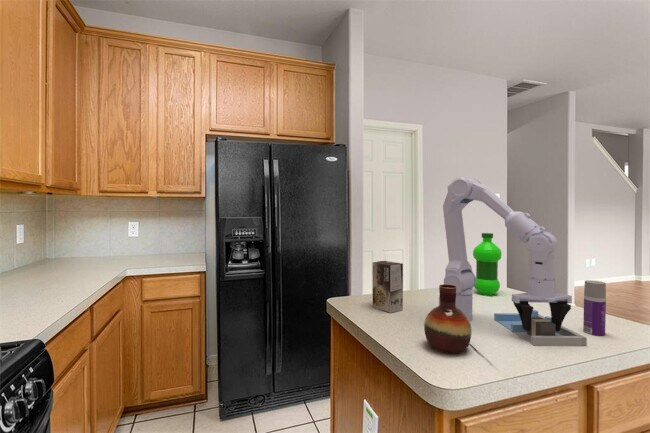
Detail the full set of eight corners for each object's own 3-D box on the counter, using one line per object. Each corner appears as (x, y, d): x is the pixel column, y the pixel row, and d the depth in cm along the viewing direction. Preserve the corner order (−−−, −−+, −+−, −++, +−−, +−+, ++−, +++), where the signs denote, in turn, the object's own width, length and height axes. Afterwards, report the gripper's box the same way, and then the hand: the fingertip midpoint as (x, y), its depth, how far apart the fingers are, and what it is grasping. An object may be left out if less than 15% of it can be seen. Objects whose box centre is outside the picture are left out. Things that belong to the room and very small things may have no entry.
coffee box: (403, 310, 115) (404, 263, 115) (390, 313, 111) (390, 265, 111) (384, 304, 123) (385, 260, 122) (371, 306, 119) (371, 261, 119)
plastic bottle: (481, 289, 146) (482, 232, 145) (505, 294, 137) (506, 233, 137) (467, 292, 141) (468, 233, 140) (491, 298, 132) (492, 234, 131)
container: (606, 341, 89) (607, 284, 88) (584, 337, 91) (585, 282, 91) (603, 335, 93) (604, 281, 92) (582, 332, 95) (583, 279, 95)
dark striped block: (540, 342, 85) (540, 324, 85) (526, 333, 91) (526, 316, 91) (555, 342, 85) (556, 324, 85) (540, 333, 91) (540, 316, 91)
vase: (434, 335, 92) (434, 279, 92) (476, 346, 85) (477, 285, 84) (416, 348, 83) (417, 286, 83) (462, 361, 76) (463, 293, 76)
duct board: (533, 349, 83) (533, 331, 83) (494, 322, 102) (494, 308, 102) (586, 349, 83) (586, 331, 83) (536, 323, 102) (537, 308, 102)
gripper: (522, 281, 84) (522, 335, 84) (581, 281, 84) (580, 335, 84) (507, 275, 91) (507, 325, 91) (561, 276, 91) (560, 326, 91)
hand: (541, 329), depth 88 cm, fingers open, 7 cm apart
